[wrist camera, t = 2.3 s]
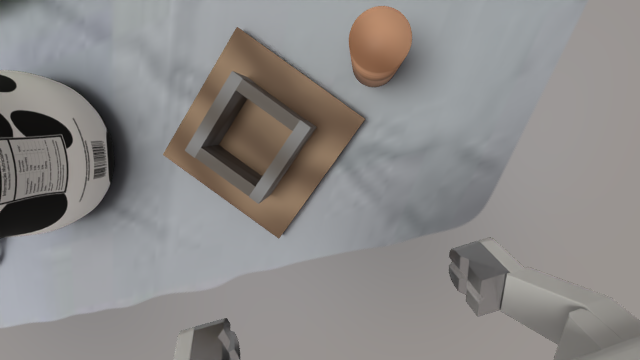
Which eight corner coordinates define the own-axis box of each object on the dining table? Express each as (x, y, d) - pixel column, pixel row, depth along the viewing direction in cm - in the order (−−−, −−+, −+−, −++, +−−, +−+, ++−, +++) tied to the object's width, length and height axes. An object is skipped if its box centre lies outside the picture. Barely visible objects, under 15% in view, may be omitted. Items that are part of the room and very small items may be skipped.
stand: (242, 31, 34) (220, 13, 29) (365, 119, 34) (365, 118, 29) (170, 153, 38) (138, 158, 32) (282, 234, 38) (268, 252, 32)
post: (369, 32, 33) (373, -7, 23) (406, 58, 33) (425, 29, 23) (343, 70, 34) (336, 48, 24) (378, 95, 34) (386, 84, 24)
